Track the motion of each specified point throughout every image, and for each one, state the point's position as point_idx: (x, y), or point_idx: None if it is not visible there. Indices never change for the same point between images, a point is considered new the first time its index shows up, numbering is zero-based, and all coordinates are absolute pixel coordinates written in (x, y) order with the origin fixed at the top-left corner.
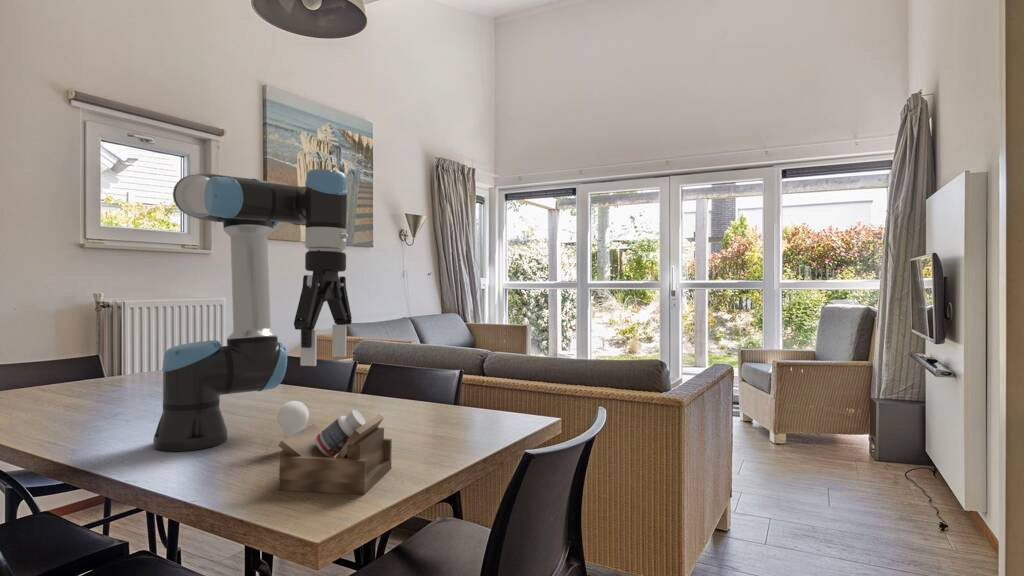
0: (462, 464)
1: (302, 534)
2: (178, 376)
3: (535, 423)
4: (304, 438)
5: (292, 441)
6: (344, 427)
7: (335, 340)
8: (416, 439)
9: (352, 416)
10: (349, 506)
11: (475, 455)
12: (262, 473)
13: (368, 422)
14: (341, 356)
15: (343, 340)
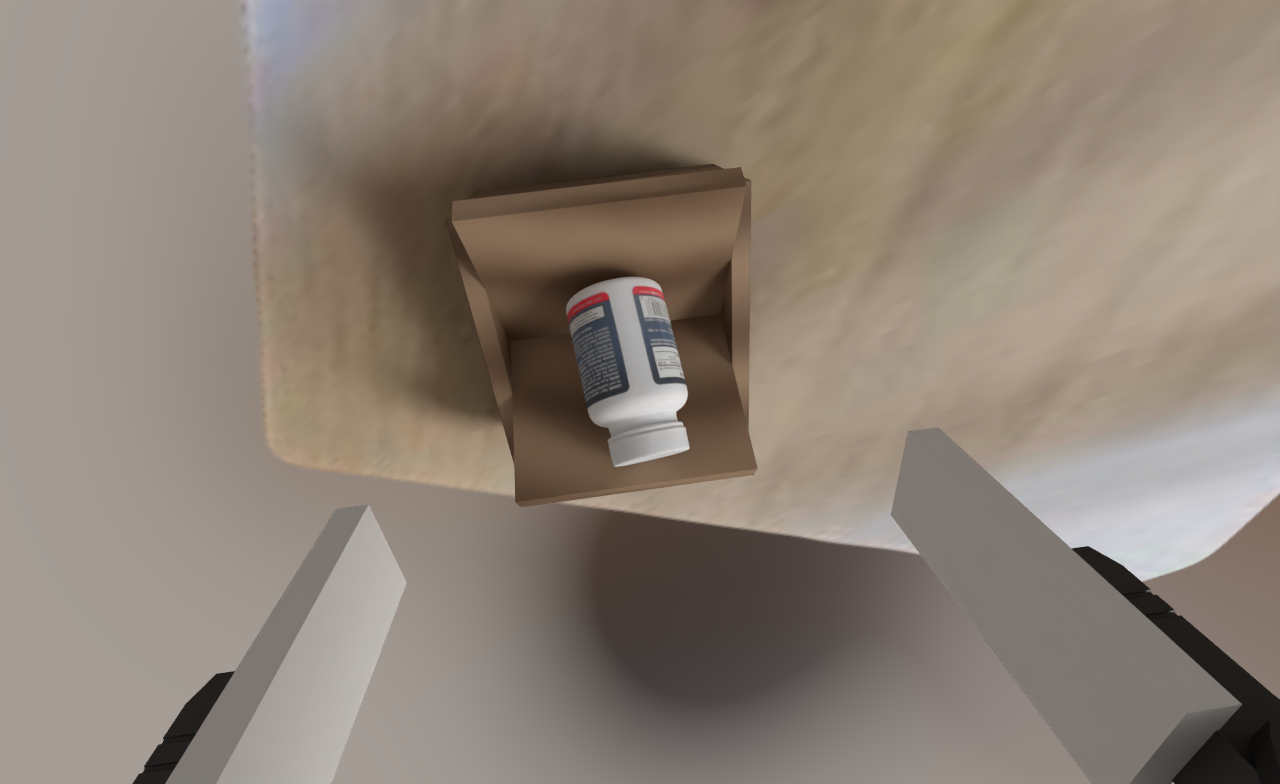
0: (780, 523)
1: (275, 419)
2: None
3: (1138, 560)
4: (590, 235)
5: (508, 235)
6: (592, 420)
7: (997, 557)
8: (1017, 346)
9: (615, 459)
10: (450, 428)
11: (851, 526)
12: (592, 13)
13: (634, 486)
14: (897, 495)
15: (977, 616)
